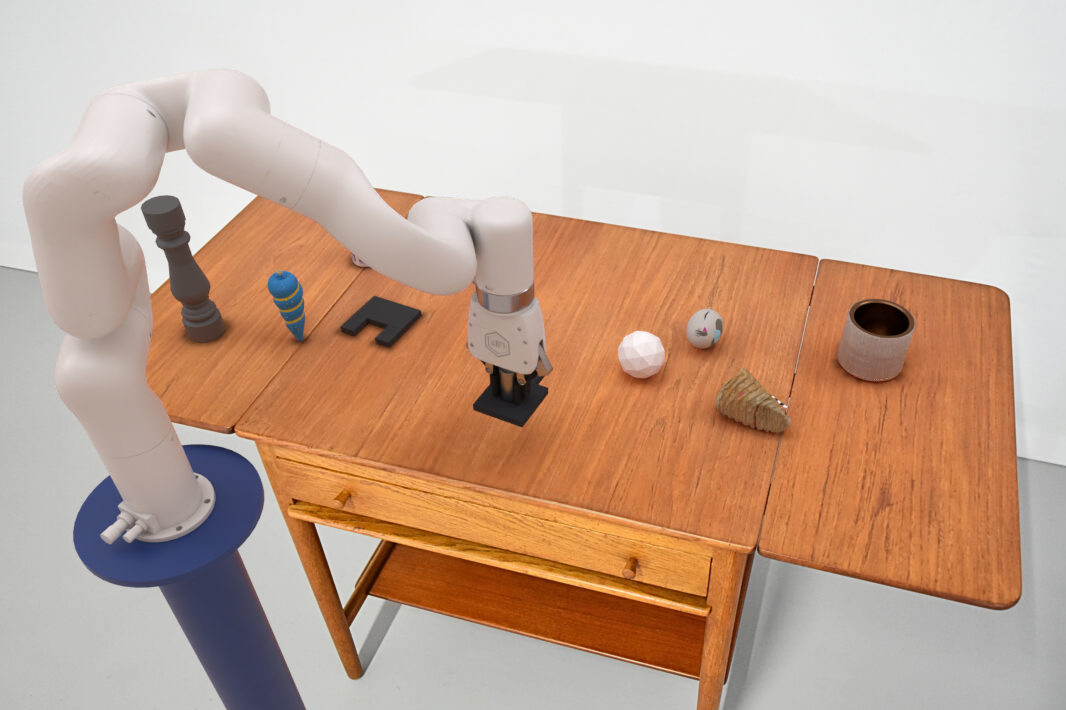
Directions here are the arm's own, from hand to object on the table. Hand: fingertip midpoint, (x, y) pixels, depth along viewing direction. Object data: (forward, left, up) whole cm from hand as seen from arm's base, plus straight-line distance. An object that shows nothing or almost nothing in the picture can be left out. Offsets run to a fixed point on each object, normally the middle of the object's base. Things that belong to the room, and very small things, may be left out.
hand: (510, 393), depth 129 cm
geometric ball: (+24, -10, -11) cm, 29 cm away
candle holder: (+1, +62, -11) cm, 63 cm away
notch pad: (+15, +36, -11) cm, 40 cm away
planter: (+43, -44, -11) cm, 63 cm away
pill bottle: (+31, +50, -11) cm, 60 cm away
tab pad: (+2, 0, -2) cm, 2 cm away
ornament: (+6, +46, -11) cm, 47 cm away
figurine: (+35, -17, -11) cm, 41 cm away
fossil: (+23, -30, -11) cm, 40 cm away
